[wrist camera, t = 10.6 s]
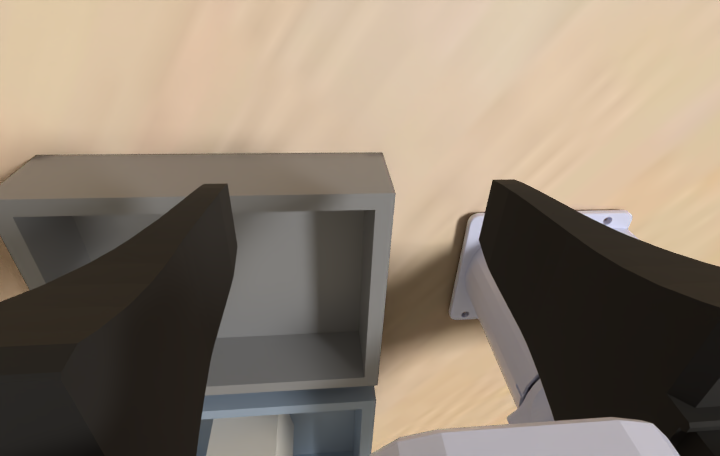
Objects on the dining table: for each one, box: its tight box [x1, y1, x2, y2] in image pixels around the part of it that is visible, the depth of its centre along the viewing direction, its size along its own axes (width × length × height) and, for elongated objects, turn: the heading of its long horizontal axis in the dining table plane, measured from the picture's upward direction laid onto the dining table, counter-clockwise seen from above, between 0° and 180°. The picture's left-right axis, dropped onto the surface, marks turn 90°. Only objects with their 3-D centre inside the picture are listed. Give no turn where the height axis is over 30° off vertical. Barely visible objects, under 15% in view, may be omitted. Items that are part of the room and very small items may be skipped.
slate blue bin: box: [196, 386, 376, 456], centre depth 31 cm, size 16×13×4 cm
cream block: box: [206, 414, 294, 456], centre depth 29 cm, size 4×4×6 cm
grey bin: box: [0, 153, 395, 396], centre depth 22 cm, size 16×13×4 cm
